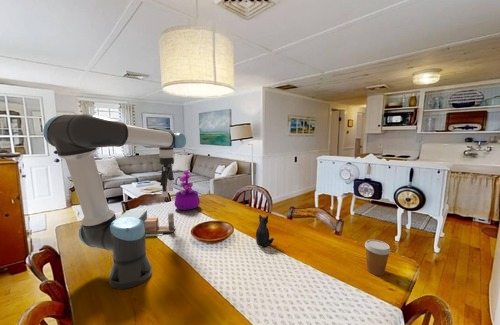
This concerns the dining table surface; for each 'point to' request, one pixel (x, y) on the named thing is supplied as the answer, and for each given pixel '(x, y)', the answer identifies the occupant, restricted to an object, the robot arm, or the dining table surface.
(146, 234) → the mat
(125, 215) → the tunnel
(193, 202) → the decorative plant
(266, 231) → the figurine
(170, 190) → the robot arm
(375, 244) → the disposable coffee cup
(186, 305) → the dining table surface
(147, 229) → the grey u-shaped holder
